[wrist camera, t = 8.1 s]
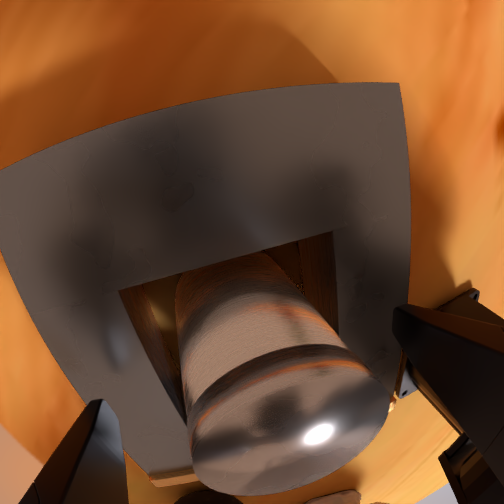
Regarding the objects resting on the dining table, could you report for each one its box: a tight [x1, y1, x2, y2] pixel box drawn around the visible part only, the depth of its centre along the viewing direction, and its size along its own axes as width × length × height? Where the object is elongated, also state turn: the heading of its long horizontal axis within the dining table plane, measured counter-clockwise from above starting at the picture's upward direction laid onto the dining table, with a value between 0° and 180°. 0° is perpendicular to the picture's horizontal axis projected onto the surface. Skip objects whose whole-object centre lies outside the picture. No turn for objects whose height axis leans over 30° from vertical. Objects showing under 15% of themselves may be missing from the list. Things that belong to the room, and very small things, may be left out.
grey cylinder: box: [175, 251, 390, 496], centre depth 9 cm, size 4×4×7 cm
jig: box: [0, 82, 411, 487], centre depth 10 cm, size 14×12×3 cm
